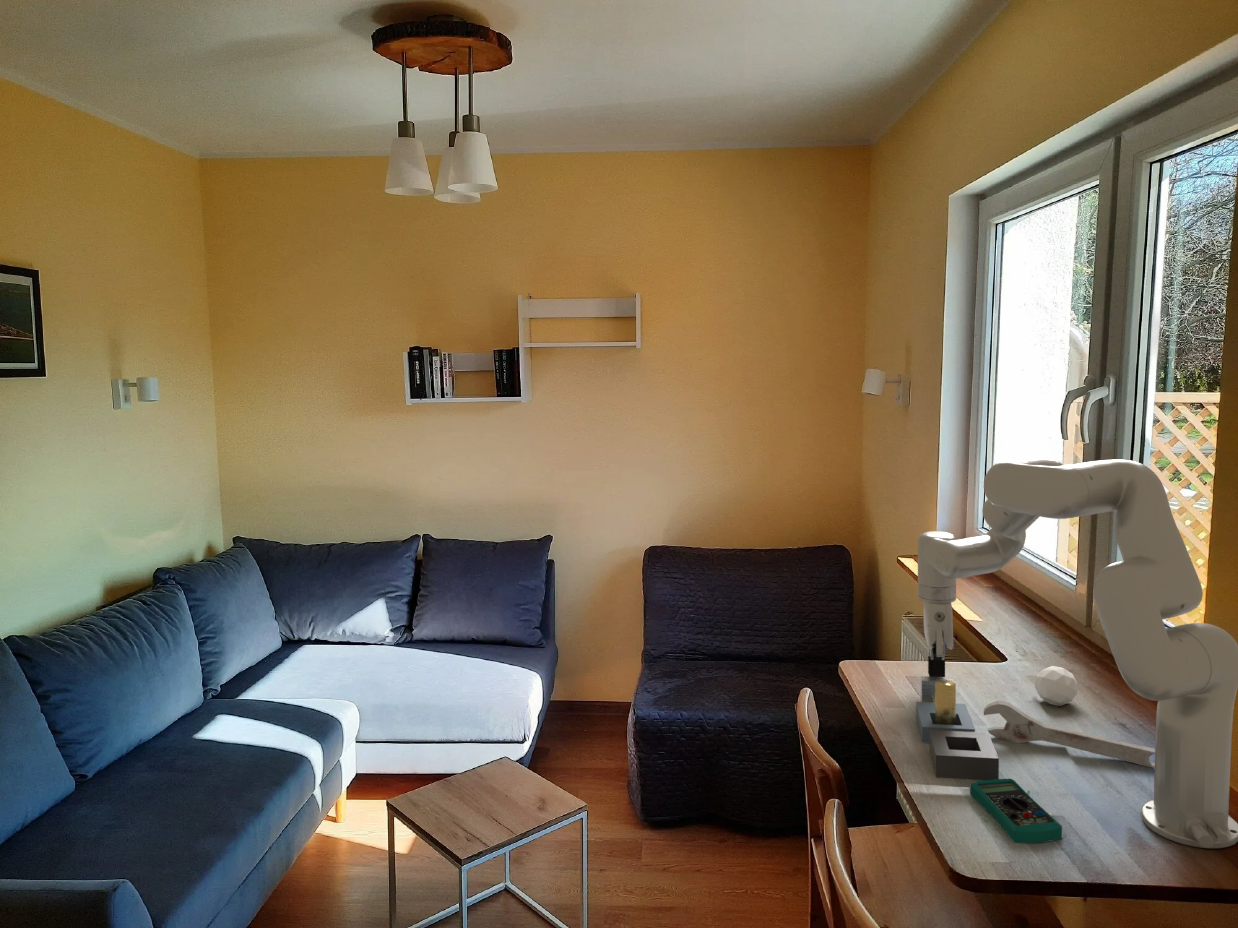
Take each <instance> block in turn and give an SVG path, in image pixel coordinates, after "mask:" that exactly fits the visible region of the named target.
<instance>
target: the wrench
mask: <svg viewBox="0 0 1238 928" xmlns="http://www.w3.org/2000/svg"><path fill="white" fill-rule="evenodd" d="M998 714H999V715H1000V716H1001V717H1002V718H1003V719H1004V720H1005V721H1006V723H1005V724H1004V726H993V727H989V728H987V733H989V735H991V736H993V737H994V738H996V739H999V740H1002V741H1007V742H1012V743H1017V744H1025V743H1029V742H1033V741H1034V742H1035V741H1038V742H1039V741H1042V742H1047V743H1051V744H1056V745H1061V746H1065V747H1068V748H1071V749H1077V750H1080V751H1084V752H1088V753H1092V754H1096V755H1100V756H1104V757H1108V758H1113V759H1117V760H1122V761H1124V762H1129V763H1132V764H1136V765H1141V766H1144V767H1149V768H1155V762H1153V761H1151V760H1150V757H1151V756H1152V755H1155V747H1154V748H1153V747H1149V746H1144V745H1139V744H1135V743H1131V742H1127V741H1123V740H1117V739H1113V738H1109V737H1105V736H1101V735H1100V736H1099V735H1097V734H1091V733H1086V732H1083V731H1079V730H1074V729H1068V728H1065V727H1060V726H1055V725H1051V724H1046V723H1044V722H1042V721H1040V720H1038V719H1036V718H1034V717H1031V716H1030V715H1028V714H1026V713H1025V712H1024V711H1022V710H1020V709H1019V708H1017V707H1016V706H1014V705H1013V704H1012V703H1010V702H1007V701H1001V700H996V701H992V702H990V703H988V704H987V705H986V706H985V707H984V708H983V716H988V715H998Z"/></svg>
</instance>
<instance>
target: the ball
mask: <svg viewBox="0 0 1238 928" xmlns="http://www.w3.org/2000/svg"><path fill="white" fill-rule="evenodd" d="M1034 685H1035V686H1034V688H1035V690H1036V692H1037V694H1038V696H1039V697H1040V699H1042V700H1044V701H1045V702H1047V703H1048V704H1050V705H1054V706H1059V707H1061V706H1064V705H1066V704H1068V703H1071V702H1072V701H1073V700H1074V699H1075V697H1076V695H1077V694H1078V686H1079V684H1078V681H1077V680H1076V678H1075V676H1074V674H1073V673H1072V672H1070V671H1069V670H1067V669H1065V668H1063V667H1060V666H1056V665H1051V666H1048V667H1046V668H1044V669H1042V670H1041V671H1039V673H1038V674H1037V675H1036V677H1035V683H1034Z"/></svg>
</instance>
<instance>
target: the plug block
mask: <svg viewBox="0 0 1238 928" xmlns="http://www.w3.org/2000/svg"><path fill="white" fill-rule="evenodd" d="M939 680H948V681H952V682H954V680H953V678H952V676H945V677H931V676H929V675H928V676H927V675H924V676H923V675H920V702H930V703H935V682H936V681H939Z"/></svg>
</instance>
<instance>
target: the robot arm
mask: <svg viewBox="0 0 1238 928" xmlns="http://www.w3.org/2000/svg"><path fill="white" fill-rule="evenodd" d="M983 491H984V495H985V497H986V499H987V500H986V501H985V502H984V503H983V506H982V509H981V510H982V511H981V512H982V516H983V519H984V521H985V523H986V524H987V525H988V526H989V528H990V529H989V530H988V531H987V532H986V533H985V534H983V535H979V536H970V537H965V538H959V539H956V537H955V535H954V534H952V533H951V532H947V531H940V530H937V531H936V530H935V531H934V530H932V531H926V532H923V533H921V534H920V535H919V536H918V538H917V598H918V599H919V600H920V601H922V602H923V610H922V611H923V632H924V638H925V641H926V644H927V647H928V657H927V673H928V676H931V677H946V658H945V655H946V651H945V650H946V648H947V649H949V650H950V651H951V650H953V649H954V625H953V624H954V623H953V622H954V620H953V619H954V618H953V606H952V603H954V602H956V600H957V579H964V578H970V577H974V576H981V575H985V574H990V573H994V572H996V571H999V570H1001V569H1003V568H1004V567H1006V566H1007V565H1008V564H1009V563H1010V562H1012V560H1014V558H1016V557H1017V556H1018V555H1019V554H1020V553H1021V552H1022V550H1023V549H1024V546H1025V542H1026V540H1027V539H1026V537H1027V533H1026V532H1027V530H1028V529H1029V528H1030V527H1031V526H1032V524H1034V523H1035V522H1036V521H1037V520H1038V519H1039V518H1040V517H1041V518H1045V519H1046V518H1047V519H1055V520H1063V519H1064V520H1065V519H1073V518H1079V517H1085V516H1091V515H1097V514H1101V513H1102V514H1104V513H1108V512H1115V513H1116V514H1115V517H1114V521H1113V522H1114V525H1113V526H1114V528H1113V529H1114V530H1113V532H1114V539H1115V542H1116V544H1117V547H1118V548H1119V551H1120V555H1121V557H1122V560H1119V561H1116V562H1113V563H1110V564H1108V565H1106V566H1104V567H1103V568H1102V569H1101V570H1100V571H1099V572H1098V573H1097V576H1096V578H1095V579H1094V583H1093V589H1092V590H1093V592H1092V593H1093V594H1092V596H1093V604H1094V607H1095V610H1096V614H1097V616H1098V619H1099V622H1100V624H1101V627H1102V629H1103V632H1104V635H1105V638H1106V640H1107V642H1108V645H1109V648H1110V651H1111V653H1112V656H1113V658H1114V661H1115V664H1116V665H1117V668H1118V671H1119V673H1120V675H1121V677H1122V679H1123V681H1124V682H1125V683H1126V685H1127V686H1128V687H1129V688H1130V690H1131V691H1132V692H1134V693H1135V694H1136V695H1138V696H1140V697H1142V698H1144V699H1147V700H1148V701H1149V700H1150V701H1155V702H1156V701H1157V706H1156V714H1155V738H1154V739H1155V744H1154V745H1155V746H1154V749H1155V754H1154V763H1155V767H1154V780H1153V781H1154V782H1153V789H1154V790H1153V800H1150V801H1148V802H1146V803H1144V804H1143V806H1142V808H1141V819H1142V821H1143V823H1144V824H1145V825H1146V827H1148V828H1149V829H1150V830H1152V831H1153V832H1154V833H1156V834H1157V835H1159V836H1161V837H1163V838H1165V839H1167V840H1171V841H1173V842H1175V843H1180V844H1182V845H1185V846H1189V847H1194V848H1201V849H1223V848H1229V847H1231V846H1234V845H1236V844H1237V843H1238V822H1237V821H1236V820H1235V819H1233V818H1232V817H1231V816H1230V815H1229V811H1230V809H1229V807H1230V785H1231V784H1230V779H1231V756H1232V755H1231V754H1232V753H1231V752H1232V736H1233V717H1234V706H1235V700H1236V696H1237V691H1238V642H1237V641H1236V640H1235V638H1234V637H1233V636H1232V634H1230V633H1229V632H1227V631H1226V630H1225V629H1223V628H1221V627H1220V626H1217V625H1214V624H1210V623H1207V622H1206V623H1205V622H1193V623H1191V622H1190V623H1184V624H1179V625H1175V626H1171V627H1168V628H1167V627H1165V623H1164V620H1167V619H1170V618H1175V617H1179V616H1182V615H1186V614H1188V613H1190V612H1192V611H1194V610H1195V609H1197V608H1198V607H1199V606H1200V605H1201V603H1202V600H1203V587H1202V584H1201V581H1200V578H1199V576H1198V574H1197V570H1196V569H1195V565H1194V563H1193V562H1192V558H1191V556H1190V554H1189V551H1188V549H1187V546H1186V544H1185V542H1184V539H1183V537H1182V535H1181V533H1180V530H1179V528H1178V526H1177V524H1176V521H1175V519H1174V515H1173V512H1172V510H1171V506H1170V502H1169V498H1168V495H1167V492H1166V489H1165V486H1164V485H1163V483H1162V481H1161V479H1160V478H1159V476H1158V475H1157V474H1156V473H1155V472H1154V471H1153V470H1152V469H1151V468H1149V466H1147V465H1145V464H1143V463H1140V462H1138V461H1134V460H1128V459H1104V460H1103V459H1102V460H1092V461H1087V462H1086V461H1085V462H1081V463H1074V464H1063V463H1062V462H1061V461H1059V460H1057V459H1056V458H1053V457H1051V456H1044V455H1034V456H1026V457H1019V458H1018V457H1017V458H1009V459H1004V460H1000V461H998V462H996V463H995V464H993V465H992V466H991V467H990V468H989V469H988V471H987V472H986V474H985V476H984V481H983Z"/></svg>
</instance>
